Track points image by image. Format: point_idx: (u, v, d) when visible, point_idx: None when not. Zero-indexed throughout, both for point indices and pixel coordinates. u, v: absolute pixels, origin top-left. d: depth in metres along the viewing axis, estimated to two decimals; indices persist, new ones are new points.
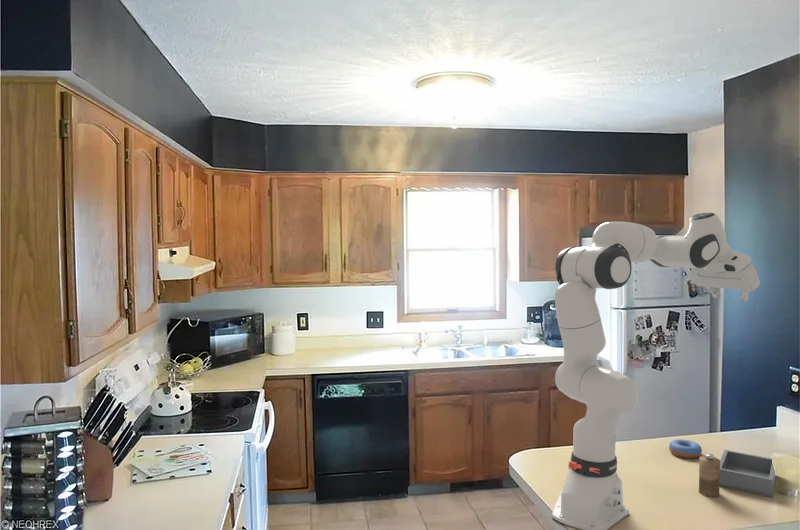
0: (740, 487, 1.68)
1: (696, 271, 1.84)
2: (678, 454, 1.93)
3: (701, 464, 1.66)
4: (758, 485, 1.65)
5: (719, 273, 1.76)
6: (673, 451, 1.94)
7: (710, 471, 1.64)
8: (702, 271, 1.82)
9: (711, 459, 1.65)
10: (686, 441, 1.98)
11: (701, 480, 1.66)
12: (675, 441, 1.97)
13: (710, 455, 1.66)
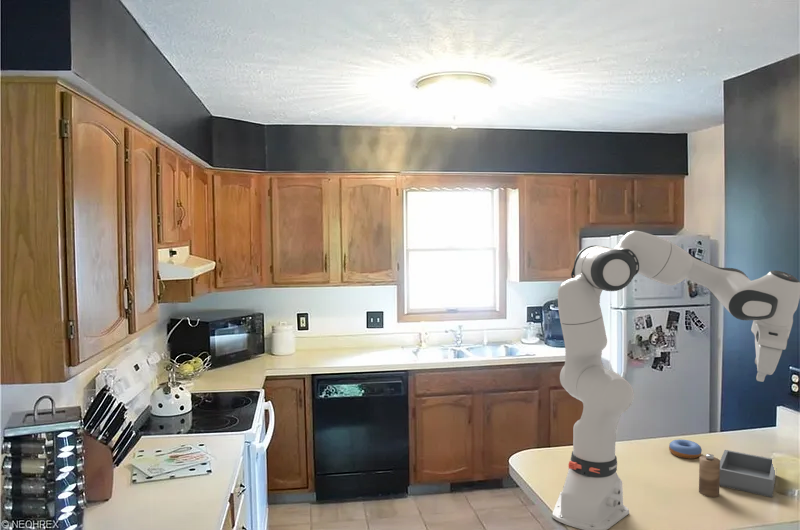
0: (740, 487, 1.68)
1: None
2: (678, 454, 1.93)
3: (701, 464, 1.66)
4: (758, 485, 1.65)
5: None
6: (673, 451, 1.94)
7: (710, 471, 1.64)
8: None
9: (711, 459, 1.65)
10: (686, 441, 1.98)
11: (701, 480, 1.66)
12: (675, 441, 1.97)
13: (710, 455, 1.66)
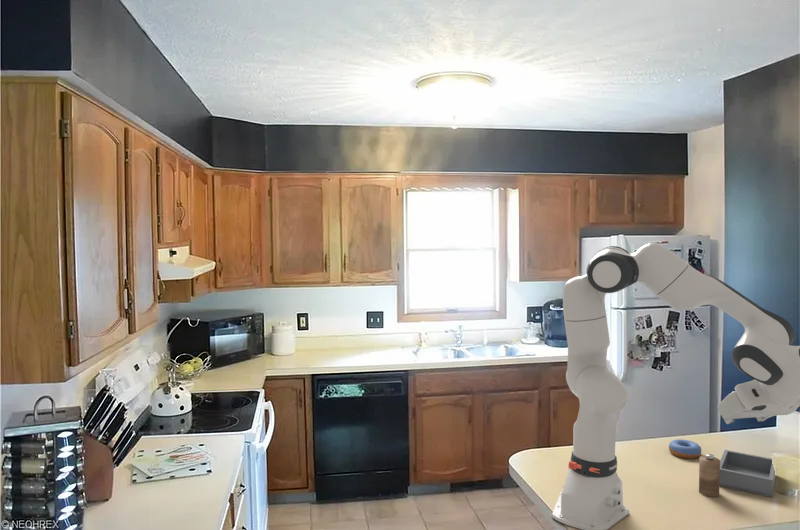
0: (740, 487, 1.68)
1: None
2: (678, 454, 1.93)
3: (701, 464, 1.66)
4: (758, 485, 1.65)
5: None
6: (673, 451, 1.94)
7: (710, 471, 1.64)
8: None
9: (711, 459, 1.65)
10: (686, 441, 1.98)
11: (701, 480, 1.66)
12: (675, 441, 1.97)
13: (710, 455, 1.66)
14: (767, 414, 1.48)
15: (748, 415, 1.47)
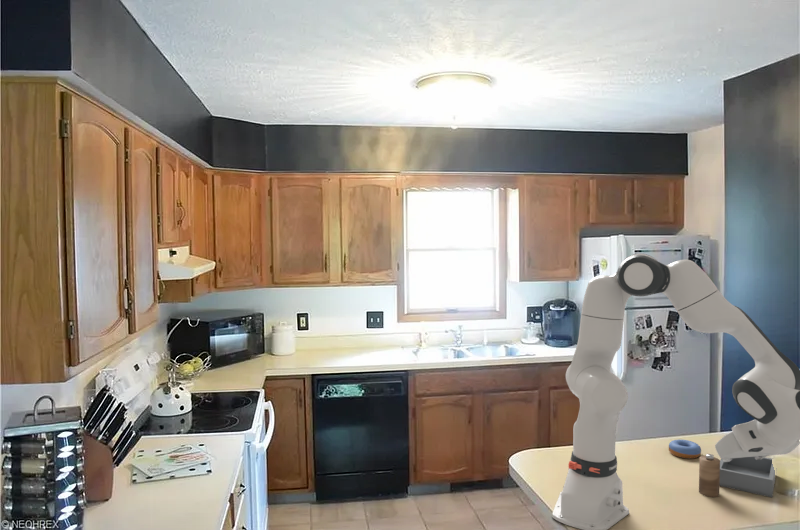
0: (740, 487, 1.68)
1: None
2: (677, 454, 1.93)
3: (701, 464, 1.66)
4: (758, 485, 1.65)
5: None
6: (672, 451, 1.94)
7: (710, 471, 1.64)
8: None
9: (711, 459, 1.65)
10: (685, 441, 1.98)
11: (701, 480, 1.66)
12: (674, 441, 1.97)
13: (710, 455, 1.66)
14: (764, 454, 1.48)
15: (745, 455, 1.47)
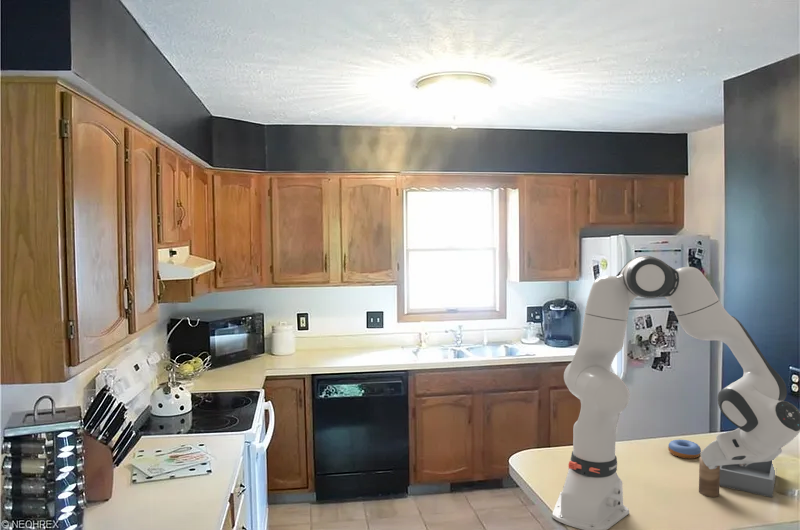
0: (740, 487, 1.68)
1: None
2: (677, 454, 1.93)
3: (701, 464, 1.66)
4: (758, 485, 1.65)
5: None
6: (672, 451, 1.94)
7: (710, 471, 1.64)
8: None
9: None
10: (685, 441, 1.98)
11: (701, 480, 1.66)
12: (674, 441, 1.97)
13: None
14: (748, 461, 1.54)
15: (730, 462, 1.53)
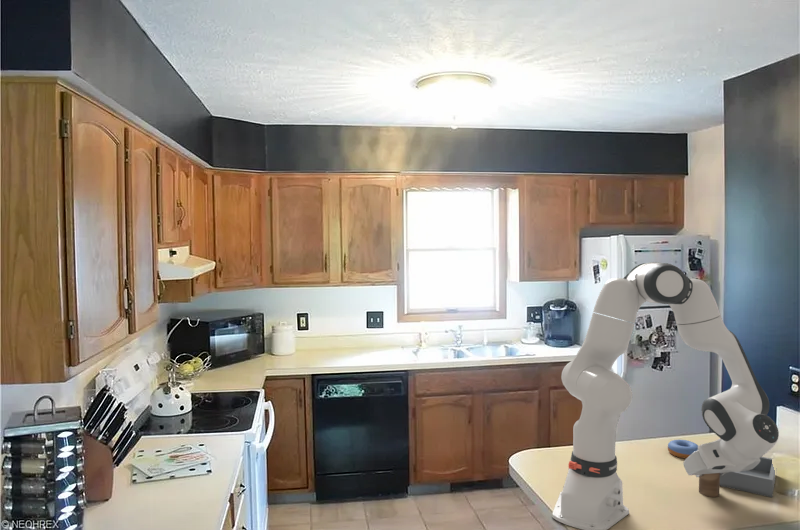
0: (740, 487, 1.68)
1: None
2: (676, 454, 1.92)
3: None
4: (758, 485, 1.65)
5: None
6: (671, 451, 1.94)
7: None
8: None
9: None
10: (684, 441, 1.98)
11: (701, 480, 1.66)
12: (673, 441, 1.97)
13: None
14: (728, 470, 1.61)
15: (711, 472, 1.60)
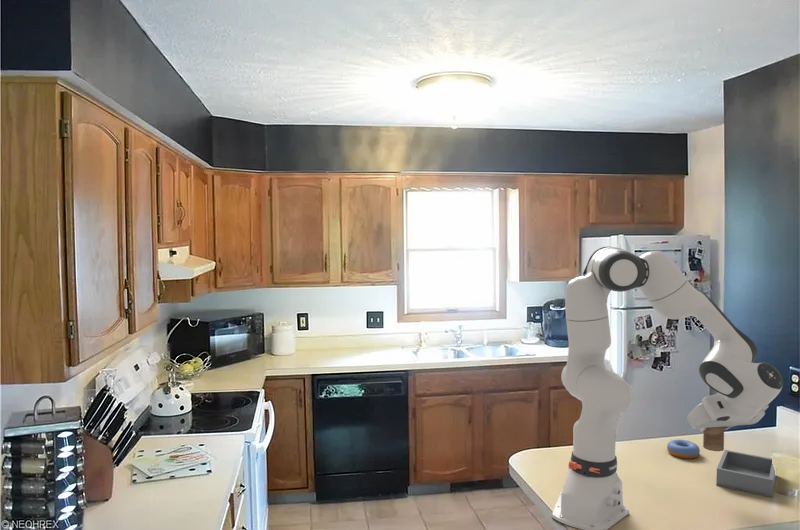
0: (740, 487, 1.68)
1: None
2: (676, 454, 1.92)
3: None
4: (758, 485, 1.65)
5: None
6: (671, 451, 1.94)
7: None
8: None
9: None
10: (684, 441, 1.98)
11: (705, 435, 1.65)
12: (673, 441, 1.97)
13: None
14: (733, 424, 1.61)
15: (715, 425, 1.60)
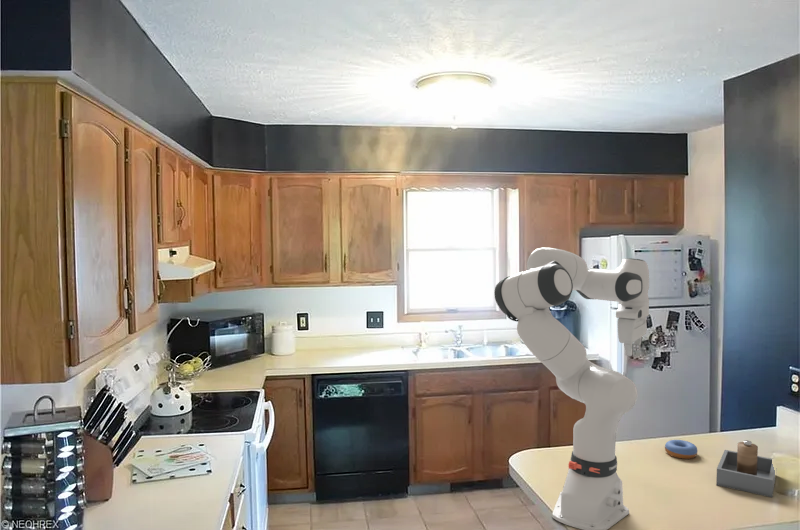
0: (740, 487, 1.68)
1: None
2: (674, 454, 1.92)
3: (740, 450, 1.73)
4: (758, 485, 1.65)
5: None
6: (669, 451, 1.94)
7: (749, 457, 1.72)
8: None
9: (749, 445, 1.73)
10: (682, 441, 1.97)
11: (740, 465, 1.74)
12: (671, 441, 1.97)
13: (748, 441, 1.73)
14: (640, 333, 1.83)
15: (636, 335, 1.78)
